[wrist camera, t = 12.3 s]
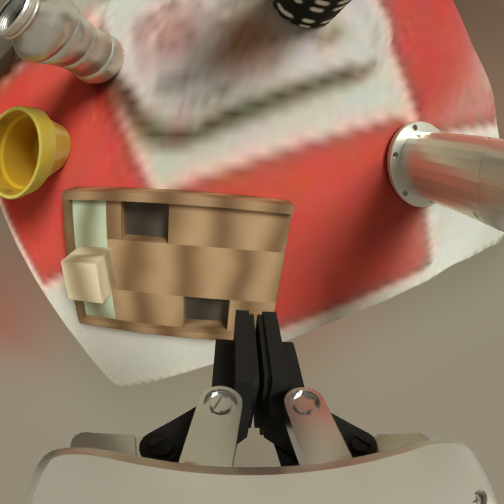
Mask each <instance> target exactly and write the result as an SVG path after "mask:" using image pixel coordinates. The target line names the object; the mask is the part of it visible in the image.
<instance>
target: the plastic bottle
mask: <svg viewBox="0 0 504 504" xmlns="http://www.w3.org/2000/svg"><path fill="white" fill-rule="evenodd" d="M0 36H3V37H4V38H6V39H9V40H13V45H14V48H15V51H16V53H17V54H18V56H19V57H20V58H21V59H22V60H24V61H27V62H32V63H40V64H51V65H55V66H59V67H62V68H65V69H67V70H68V71H70V72H72V73H73V74H74V75H75V76H76V77H77V78H79V79H80V80H81V81H83V82H85V83H88V84H100V83H103V82H106V81H108V80H110V79H111V78H112V77H113V76H114V75H115V74H116V73H117V72H118V71H119V69H120V67H121V66H122V63H123V60H124V50H123V47H122V45H121V43H120V42H119V40H118V39H117V38H115V37H113V36H111V35H109V34H107V33H104V32H102V31H100V30H98V29H97V28H95V27H94V26H93V25H92V24H91V23H90V22H89V21H88V20H87V19H86V18H85V17H84V16H83V14H82V13H81V12H80V10H79V9H78V7H77V6H76V5H75V4H74V3H73V2H72V1H71V0H8V1H7V2H6V3H5V4H4V6H3V7H2V8H1V10H0Z"/></svg>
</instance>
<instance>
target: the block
mask: <svg viewBox="0 0 504 504" xmlns="http://www.w3.org/2000/svg"><path fill="white" fill-rule="evenodd" d="M61 265H62V271H63V276H64V281H65V285H66V290H67V294H68V298H69V299H71V300H78V301H86V302H94V303H102V304H103V302H104V301H105V299H106V298H107V296H108V295H109V294H110V292H111V291H112V289H113V288H114V286H115V285H116V278H115V270H114V261H113V252H112V248H104V247H85V246H79V247H78V248H77V249H75V250H74V251H73V252H72V253H70V254H69V255H68V256H67V257H66V258H64V259H63V260H62V261H61Z"/></svg>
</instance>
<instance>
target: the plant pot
mask: <svg viewBox="0 0 504 504" xmlns="http://www.w3.org/2000/svg"><path fill="white" fill-rule="evenodd" d="M70 150H71V139H70V136H69V133H68V131H67V130H66V129H65V128H64V127H63V126H62V125H60V124H58V123H56V122H54V121H52V120H50V118H49V117H48V115H47V114H46V113H45V112H43V111H42V110H40V109H37V108H33V107H26V106H15V107H12V108H9V109H8V110H6V111H5V112H3V113H2V114H1V115H0V196H1V197H3V198H5V199H17V198H20V197H23V196H25V195H28V194H30V193H32V192H34V191H35V190H37V189H38V188H39V187H40V186H41V185H42V184H43V183H44V182H45V181H46V179H47V177H48V176H50V175H51V174H53V173H54V172H56V171H57V170H59V169H60V168H61V167H62V166H63V165H64V164H65V163H66V161H67V159H68V157H69V154H70Z"/></svg>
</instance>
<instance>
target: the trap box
mask: <svg viewBox="0 0 504 504" xmlns="http://www.w3.org/2000/svg"><path fill="white" fill-rule="evenodd" d="M62 200H63V219H64V232H65V242H66V251H67V256H68V255H69V254H70V253H72V252H73V251H74V250H75V249H77V248H78V247H79V246H85V247H104V248H112V252H113V261H114V270H115V278H116V285H115V286H114V288H113V289H112V291H111V292H110V294H109V295H108V296H107V298H106V299H105V301H104V302H103V304H102V303H94V302H86V301H78V300H75V305H76V309H77V314H78V318H79V322H80V323H85V324H90V325H96V326H102V327H108V328H114V329H120V330H127V331H134V332H142V333H150V334H158V335H167V336H177V337H188V338H200V339H214V340H216V339H225V340H233V338H234V326H235V314H236V310H249V314H254V322H255V327H256V320H257V315H258V314H260V315H262V312H263V311H268V312H274V310H275V305H276V300H277V294H278V289H279V283H280V278H281V272H282V267H283V261H284V255H285V249H286V244H287V238H288V232H289V226H290V219H291V215H293V214H294V207H295V206H294V205H293V204H292V203H291V202H290V201H288V200H282V199H273V198H264V197H255V196H245V195H234V194H223V193H211V192H198V191H184V190H168V189H148V188H121V187H73V188H70V189H68V190H65V191H62Z"/></svg>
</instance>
